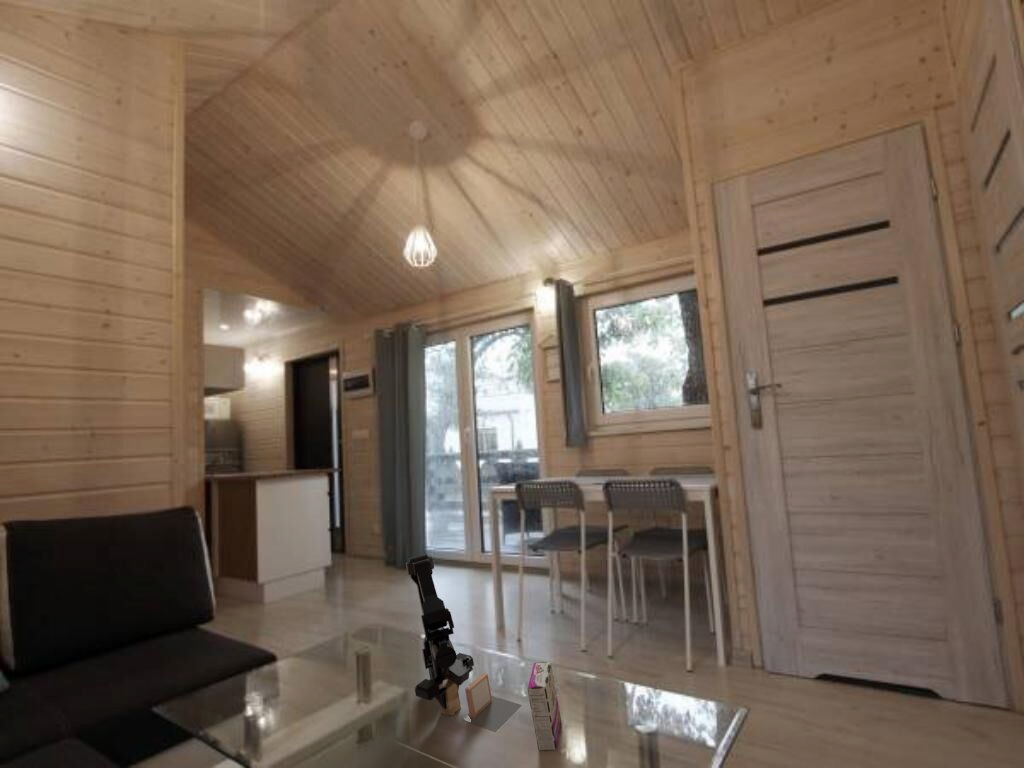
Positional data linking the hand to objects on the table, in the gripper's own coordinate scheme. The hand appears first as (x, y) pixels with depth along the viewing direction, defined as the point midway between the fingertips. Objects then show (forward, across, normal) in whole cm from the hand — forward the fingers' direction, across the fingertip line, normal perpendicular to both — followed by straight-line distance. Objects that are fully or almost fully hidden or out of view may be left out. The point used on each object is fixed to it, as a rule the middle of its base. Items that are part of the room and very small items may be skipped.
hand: (450, 704), depth 157 cm
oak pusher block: (+2, 0, 0) cm, 2 cm away
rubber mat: (+2, +4, -12) cm, 13 cm away
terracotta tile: (+2, +4, -8) cm, 9 cm away
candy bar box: (+2, +3, -32) cm, 32 cm away
